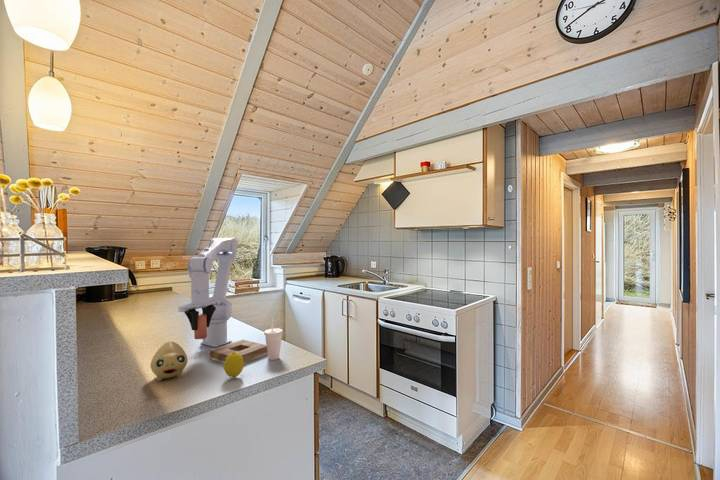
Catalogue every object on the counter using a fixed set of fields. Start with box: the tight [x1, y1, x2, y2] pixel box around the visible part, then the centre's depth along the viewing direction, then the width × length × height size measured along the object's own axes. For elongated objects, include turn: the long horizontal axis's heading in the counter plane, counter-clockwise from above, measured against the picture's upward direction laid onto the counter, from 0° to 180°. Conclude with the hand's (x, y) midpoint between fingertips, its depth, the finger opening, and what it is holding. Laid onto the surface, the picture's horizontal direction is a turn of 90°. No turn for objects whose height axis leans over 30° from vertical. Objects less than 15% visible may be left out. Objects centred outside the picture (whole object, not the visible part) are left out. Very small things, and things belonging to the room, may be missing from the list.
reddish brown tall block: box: [193, 313, 207, 340], centre depth 116 cm, size 4×4×8 cm
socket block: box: [209, 339, 268, 364], centre depth 117 cm, size 14×14×3 cm
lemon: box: [223, 352, 245, 379], centre depth 98 cm, size 6×6×8 cm
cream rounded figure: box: [149, 341, 189, 381], centre depth 99 cm, size 10×12×11 cm
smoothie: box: [263, 318, 284, 361], centre depth 115 cm, size 6×6×14 cm
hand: (200, 328), depth 116 cm, fingers closed on reddish brown tall block, 4 cm apart
